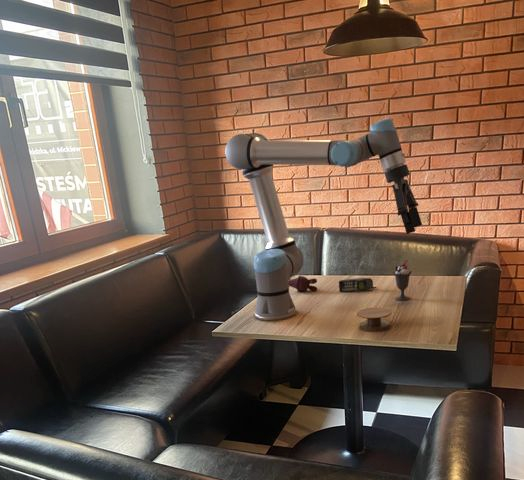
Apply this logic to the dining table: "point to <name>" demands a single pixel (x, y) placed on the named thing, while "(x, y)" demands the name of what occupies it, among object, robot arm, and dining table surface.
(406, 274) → the sundae
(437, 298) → the dining table surface
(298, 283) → the chocolate bunny
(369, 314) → the stand
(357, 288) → the mobile phone
